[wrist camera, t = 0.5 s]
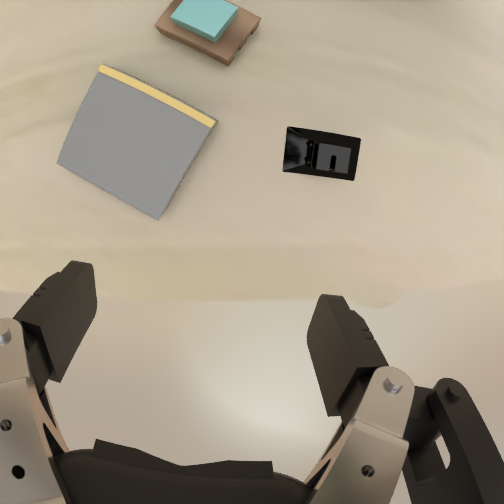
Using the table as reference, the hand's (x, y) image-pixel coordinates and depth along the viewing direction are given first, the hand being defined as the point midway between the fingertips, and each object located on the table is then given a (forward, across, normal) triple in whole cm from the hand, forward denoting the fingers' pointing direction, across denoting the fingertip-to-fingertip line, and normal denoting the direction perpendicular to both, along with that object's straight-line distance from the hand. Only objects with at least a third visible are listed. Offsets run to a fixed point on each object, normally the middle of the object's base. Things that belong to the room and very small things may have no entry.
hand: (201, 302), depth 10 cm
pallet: (+26, +4, -16) cm, 31 cm away
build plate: (+26, -11, -4) cm, 29 cm away
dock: (+25, +10, -3) cm, 28 cm away
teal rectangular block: (+22, +4, -17) cm, 28 cm away
